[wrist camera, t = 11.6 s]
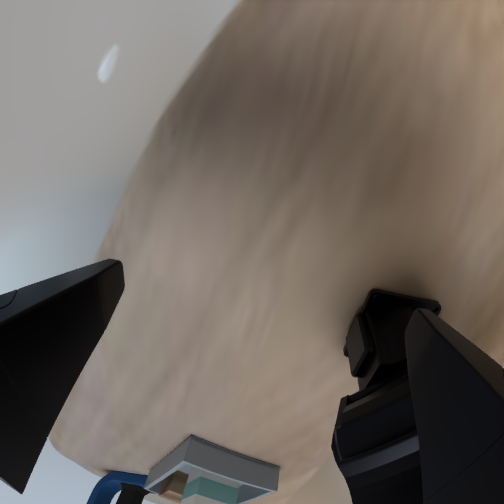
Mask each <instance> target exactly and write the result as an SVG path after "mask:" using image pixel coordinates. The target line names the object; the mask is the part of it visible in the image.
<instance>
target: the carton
mask: <svg viewBox="0 0 504 504" xmlns="http://www.w3.org/2000/svg"><path fill="white" fill-rule="evenodd" d="M238 488H239V482H236V481H233V480H230V479H227V478H224V477H221V476H218V475H215V474H212V473H209V472H207V471H204V470H201V469H198V468H196V467H191V469H190V473H189V476H188V480H187V483H186V485H185V489H184V492H183V495H182V499H181V500H182V501H181V504H236V502H237V497H238V491H239V489H238Z"/></svg>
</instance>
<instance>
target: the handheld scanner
mask: <svg viewBox="0 0 504 504" xmlns="http://www.w3.org/2000/svg"><path fill="white" fill-rule="evenodd" d="M147 477H148V476H145V475H138V474H131V473H124V472H113V473H110V474H108V475H106V476H104V477H103V478H102V479H101V480H100V481H99V482H98V483H97V484H96V486H95V487H94V489H93V491H92V493H91V495H90V497H89V500H88V502H87V504H110V503H111V500H112V498H113V497H114V495H115V494H116V493H117V492H118V491H120V490H122V491H121V493H120V496H119V498H118V500H117V502H116V504H142V501H143V498H144V496H145V495H147V494H149V493H153V492H151V491H148V490H146V489H144V486H145V483H146V480H147ZM154 494H155V493H154Z"/></svg>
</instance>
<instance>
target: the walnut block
mask: <svg viewBox="0 0 504 504" xmlns="http://www.w3.org/2000/svg"><path fill="white" fill-rule="evenodd" d="M188 476H189V474H186V473H183V472H181V471H178V470H176V471H175V472H173V473H172V474H170V475H169V476H167V477H166V478H164V481H163V484H162V487H161V490H160V493H159V496H160V497H163V498H166V499H168V500H171V501H174V502H176V503H179V504H181V501H182V500H181V499H182V495H183V492H184V489H185V485H186V483H187V480H188Z"/></svg>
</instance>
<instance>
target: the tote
mask: <svg viewBox="0 0 504 504" xmlns="http://www.w3.org/2000/svg"><path fill="white" fill-rule="evenodd" d="M191 467H196V468H198V469H201V470H204V471H207V472H209V473H212V474H215V475H218V476H221V477H224V478H227V479H230V480H233V481H236V482H239V488H238V489H239V491H238V497H237V502H236V504H245V503H248V502H251V501H253V500H256V499H259V498H261V497H264V496H267V495H269V494H272V493H274V492H277V489H278V480H279V470H280V467H279V466H276V465H272V464H269V463H266V462H263V461H260V460H257V459H254V458H251V457H248V456H245V455H242V454H239V453H236V452H234V451H231V450H228V449H226V448H223V447H220V446H218V445H215V444H213V443H210V442H208V441H205V440H203V439H201V438H198V437H196V436H194V435H190V436H189V437H188V438H187V439H186V440H185V441H183V442H182V443H181V444H180V445H179V446H178V447H177V448H176V449H174V450H173V451H172V452H171V453H170V454H169V455H168V456H166V457H165V458H164V459H163V460H162V461H161V462H159V463H158V464H157V465H156V466H155V467H153V468H152V469H151V470H150V472H149V475H148V477H147V480H146V483H145V486H144V489H146V490H148V491H151V492H153V493H155V494H158V495H159V493H160V490H161V487H162V484H163V481H164V478H166V477H167V476H169V475H170V474H172V473H173V472H175V471H176V470H178V471H181V472H183V473H186V474H189V473H190V469H191Z"/></svg>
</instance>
